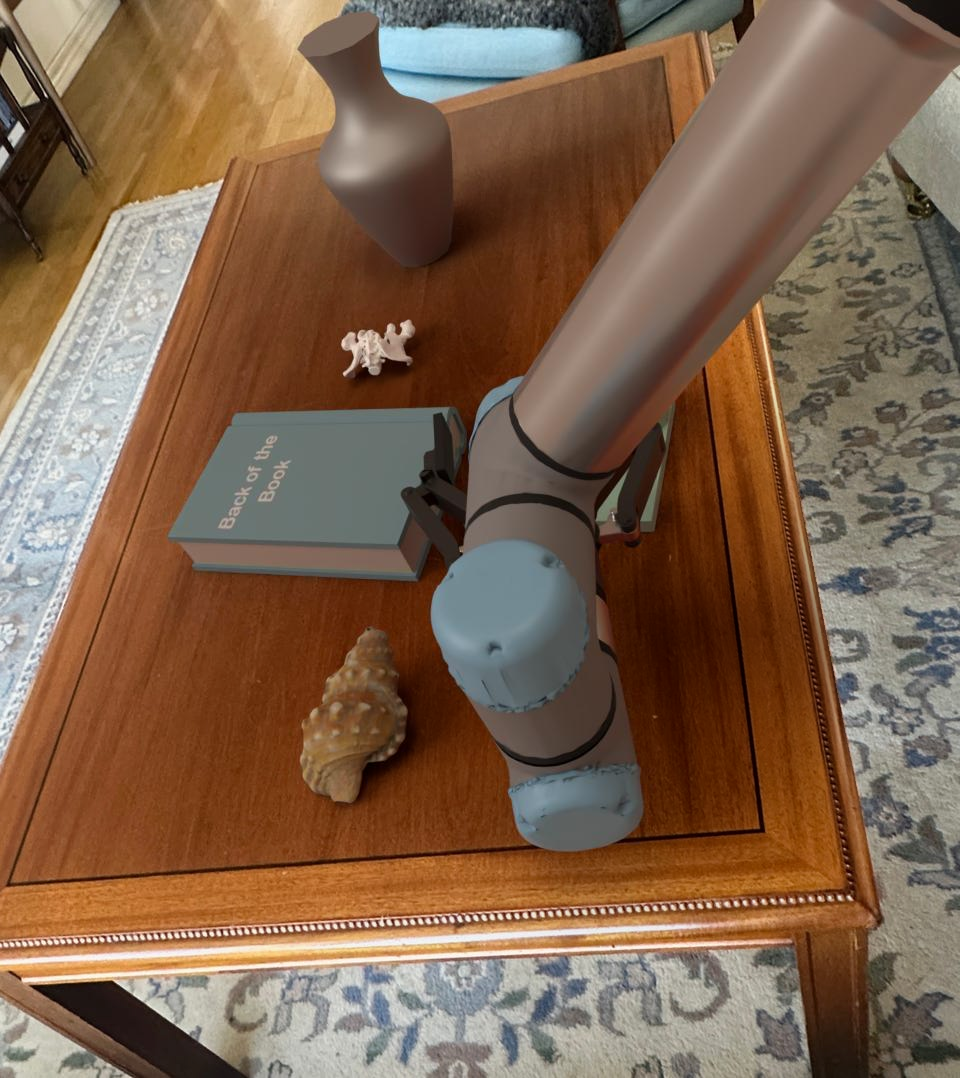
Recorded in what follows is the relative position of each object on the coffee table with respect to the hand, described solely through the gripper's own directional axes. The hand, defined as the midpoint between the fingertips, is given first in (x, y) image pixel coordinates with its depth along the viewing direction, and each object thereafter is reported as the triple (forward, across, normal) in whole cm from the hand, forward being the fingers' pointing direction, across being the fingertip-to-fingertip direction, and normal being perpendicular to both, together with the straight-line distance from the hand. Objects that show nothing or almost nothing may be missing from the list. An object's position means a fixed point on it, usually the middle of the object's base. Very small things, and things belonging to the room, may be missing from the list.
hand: (522, 402), depth 79 cm
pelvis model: (+20, -15, -8) cm, 26 cm away
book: (+2, -20, -8) cm, 21 cm away
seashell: (-22, -16, -8) cm, 29 cm away
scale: (-1, +2, -8) cm, 8 cm away
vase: (+39, -10, -8) cm, 41 cm away
